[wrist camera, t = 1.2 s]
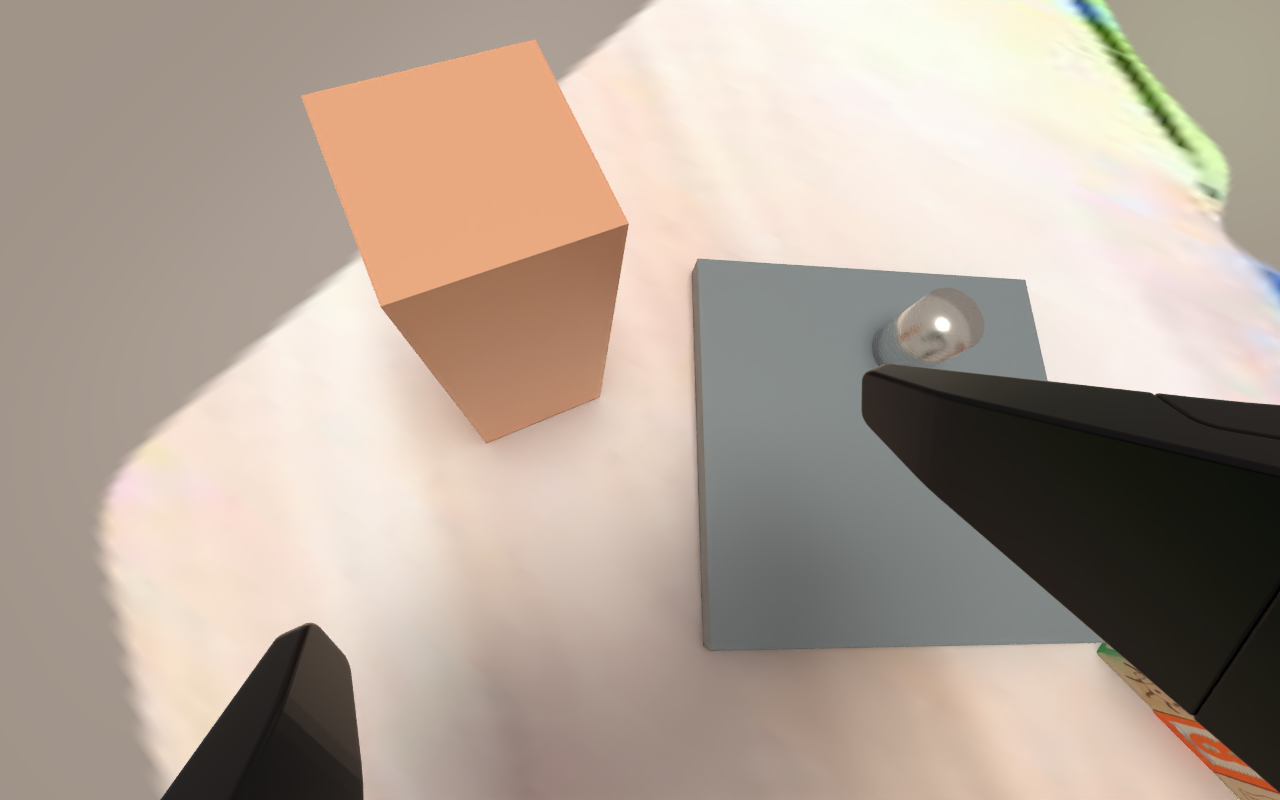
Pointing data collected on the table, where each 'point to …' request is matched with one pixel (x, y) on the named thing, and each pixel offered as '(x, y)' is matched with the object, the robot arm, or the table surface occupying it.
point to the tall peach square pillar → (481, 228)
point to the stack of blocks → (1192, 733)
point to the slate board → (841, 471)
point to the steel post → (930, 330)
